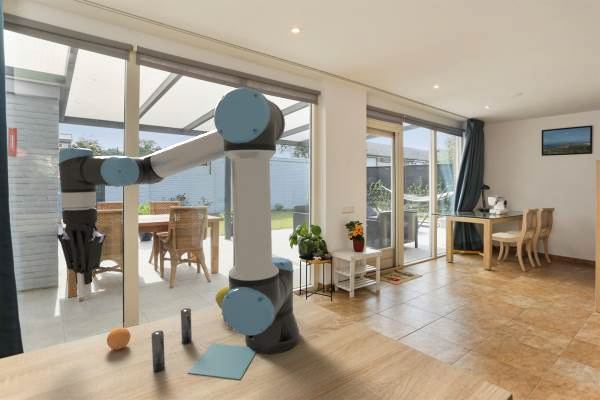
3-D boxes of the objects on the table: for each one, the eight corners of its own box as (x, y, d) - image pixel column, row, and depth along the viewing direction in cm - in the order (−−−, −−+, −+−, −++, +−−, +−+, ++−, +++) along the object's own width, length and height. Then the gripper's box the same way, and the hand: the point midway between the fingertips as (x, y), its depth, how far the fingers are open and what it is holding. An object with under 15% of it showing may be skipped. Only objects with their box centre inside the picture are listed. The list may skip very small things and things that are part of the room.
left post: (167, 366, 77) (165, 331, 76) (160, 373, 75) (159, 336, 74) (157, 365, 78) (155, 330, 77) (150, 372, 75) (149, 335, 74)
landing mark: (257, 348, 85) (257, 347, 85) (240, 379, 72) (240, 379, 72) (212, 343, 87) (212, 343, 87) (187, 373, 75) (187, 372, 75)
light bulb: (232, 323, 99) (231, 292, 98) (212, 321, 100) (211, 290, 100) (240, 313, 106) (239, 284, 105) (221, 312, 107) (220, 283, 106)
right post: (193, 339, 90) (192, 308, 89) (188, 344, 87) (187, 312, 86) (185, 338, 90) (184, 307, 89) (180, 343, 88) (178, 311, 87)
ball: (135, 343, 88) (134, 324, 87) (120, 355, 82) (119, 334, 82) (117, 341, 88) (116, 322, 88) (102, 352, 83) (101, 332, 83)
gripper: (112, 207, 86) (116, 291, 88) (71, 205, 88) (76, 288, 91) (89, 210, 79) (94, 302, 81) (45, 209, 81) (51, 298, 83)
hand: (85, 295), depth 86 cm, fingers closed
